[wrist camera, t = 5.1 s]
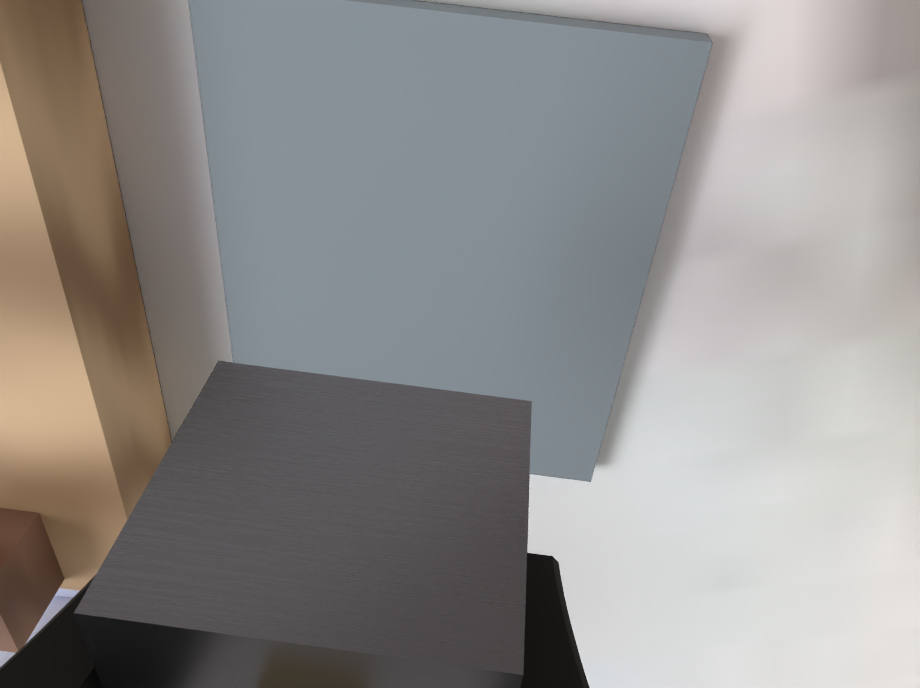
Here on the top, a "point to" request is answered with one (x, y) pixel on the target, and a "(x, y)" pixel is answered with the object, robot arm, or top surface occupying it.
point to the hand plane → (64, 323)
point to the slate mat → (443, 195)
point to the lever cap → (322, 541)
